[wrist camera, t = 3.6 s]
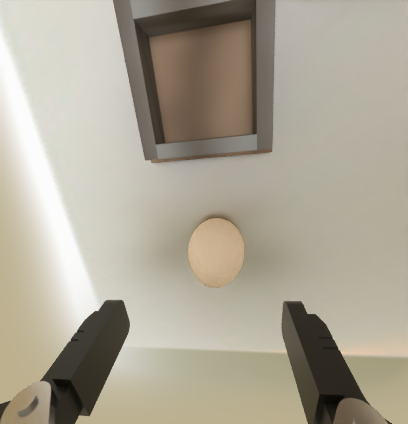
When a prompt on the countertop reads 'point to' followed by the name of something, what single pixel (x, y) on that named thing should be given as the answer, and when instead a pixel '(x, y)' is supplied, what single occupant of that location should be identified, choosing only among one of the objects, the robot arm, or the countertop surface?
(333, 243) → the countertop surface
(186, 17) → the holder
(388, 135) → the countertop surface
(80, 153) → the countertop surface
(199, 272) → the egg
